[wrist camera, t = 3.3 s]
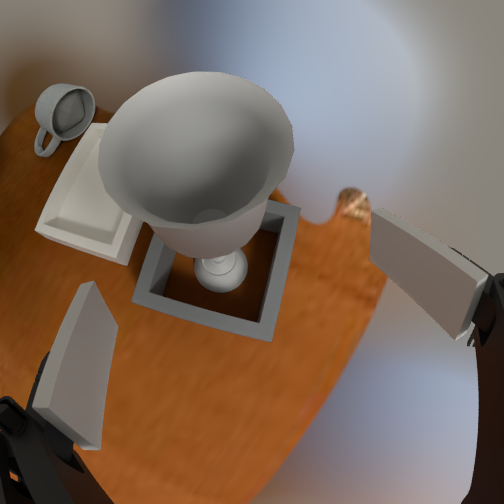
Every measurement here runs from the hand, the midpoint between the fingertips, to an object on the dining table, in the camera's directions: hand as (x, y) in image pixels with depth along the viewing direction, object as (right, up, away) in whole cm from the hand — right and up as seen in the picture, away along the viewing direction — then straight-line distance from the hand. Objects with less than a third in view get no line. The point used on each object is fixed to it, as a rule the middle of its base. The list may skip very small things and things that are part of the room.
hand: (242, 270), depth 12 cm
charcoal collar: (-2, 0, +14) cm, 14 cm away
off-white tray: (-16, +8, +16) cm, 24 cm away
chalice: (-2, -1, +14) cm, 14 cm away
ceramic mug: (-27, +18, +19) cm, 38 cm away
